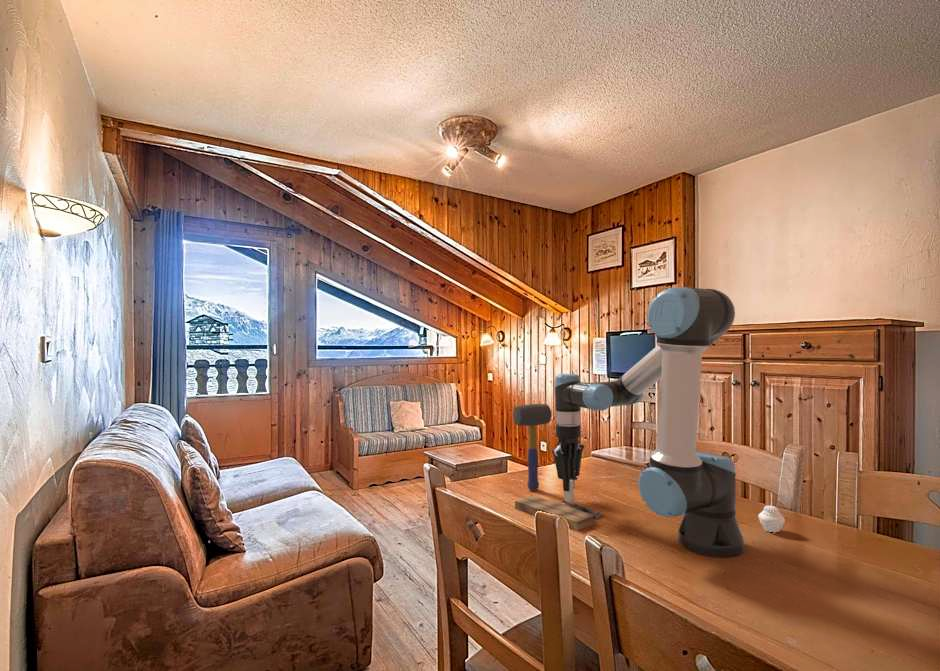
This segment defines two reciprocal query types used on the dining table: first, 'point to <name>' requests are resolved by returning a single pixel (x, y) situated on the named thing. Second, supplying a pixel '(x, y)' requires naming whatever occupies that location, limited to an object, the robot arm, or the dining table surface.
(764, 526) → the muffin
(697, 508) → the robot arm
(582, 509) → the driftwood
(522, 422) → the rubber mallet
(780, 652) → the dining table surface
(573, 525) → the floorboard
